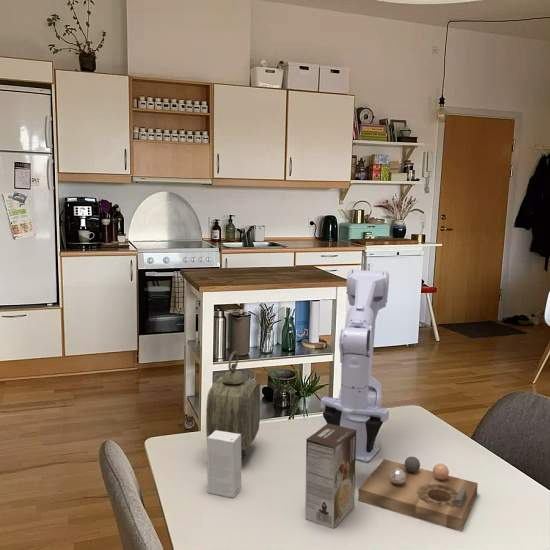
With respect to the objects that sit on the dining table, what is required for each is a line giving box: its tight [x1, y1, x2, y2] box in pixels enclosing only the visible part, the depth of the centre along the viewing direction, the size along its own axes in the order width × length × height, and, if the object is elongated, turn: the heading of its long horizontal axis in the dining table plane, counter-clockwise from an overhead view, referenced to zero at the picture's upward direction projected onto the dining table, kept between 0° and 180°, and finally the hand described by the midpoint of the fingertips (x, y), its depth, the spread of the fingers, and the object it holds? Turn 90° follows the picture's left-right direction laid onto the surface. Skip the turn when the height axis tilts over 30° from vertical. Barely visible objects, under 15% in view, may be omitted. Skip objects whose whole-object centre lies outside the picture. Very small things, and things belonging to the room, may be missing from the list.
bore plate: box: [357, 458, 479, 532], centre depth 114 cm, size 20×15×4 cm
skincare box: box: [206, 430, 242, 498], centre depth 115 cm, size 6×4×12 cm
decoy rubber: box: [404, 456, 421, 472], centre depth 119 cm, size 3×3×3 cm
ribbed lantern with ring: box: [205, 350, 261, 458], centre depth 129 cm, size 14×9×25 cm, turn 168°
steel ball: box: [390, 468, 406, 485], centre depth 114 cm, size 3×3×3 cm
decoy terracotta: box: [432, 463, 450, 480], centre depth 116 cm, size 3×3×3 cm
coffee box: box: [304, 423, 357, 529], centre depth 107 cm, size 9×6×16 cm
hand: (352, 446), depth 118 cm, fingers open, 7 cm apart
